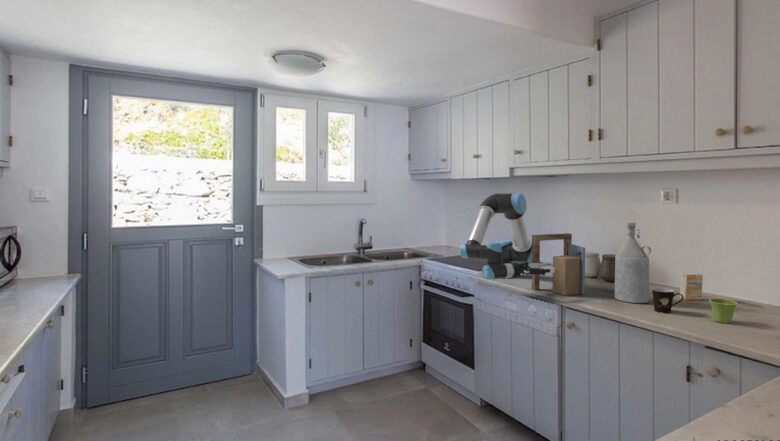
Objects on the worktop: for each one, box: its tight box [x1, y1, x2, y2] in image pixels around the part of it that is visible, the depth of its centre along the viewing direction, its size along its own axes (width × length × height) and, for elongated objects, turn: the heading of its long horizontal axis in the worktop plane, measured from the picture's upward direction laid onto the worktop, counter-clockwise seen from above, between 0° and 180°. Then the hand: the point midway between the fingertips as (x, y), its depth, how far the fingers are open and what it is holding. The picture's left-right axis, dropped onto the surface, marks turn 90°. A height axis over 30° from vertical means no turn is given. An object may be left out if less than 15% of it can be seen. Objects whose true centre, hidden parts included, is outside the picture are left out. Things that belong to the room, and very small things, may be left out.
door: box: [568, 243, 586, 295], centre depth 236 cm, size 17×3×25 cm, turn 3°
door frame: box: [531, 232, 573, 291], centre depth 244 cm, size 3×24×31 cm, turn 104°
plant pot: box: [708, 298, 738, 324], centre depth 181 cm, size 9×9×9 cm
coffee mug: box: [651, 287, 684, 314], centre depth 196 cm, size 12×9×10 cm
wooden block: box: [552, 254, 581, 297], centre depth 233 cm, size 10×10×20 cm
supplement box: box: [679, 272, 703, 301], centre depth 216 cm, size 8×5×13 cm, turn 89°
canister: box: [614, 221, 652, 304], centre depth 215 cm, size 13×17×40 cm
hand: (546, 267), depth 231 cm, fingers open, 13 cm apart
